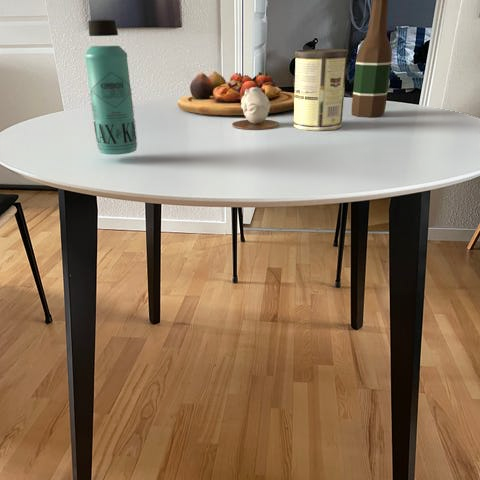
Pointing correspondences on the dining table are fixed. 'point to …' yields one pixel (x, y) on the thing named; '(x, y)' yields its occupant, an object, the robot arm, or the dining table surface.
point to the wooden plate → (231, 94)
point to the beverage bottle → (110, 92)
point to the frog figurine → (255, 105)
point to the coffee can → (319, 89)
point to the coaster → (255, 125)
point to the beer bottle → (373, 66)
